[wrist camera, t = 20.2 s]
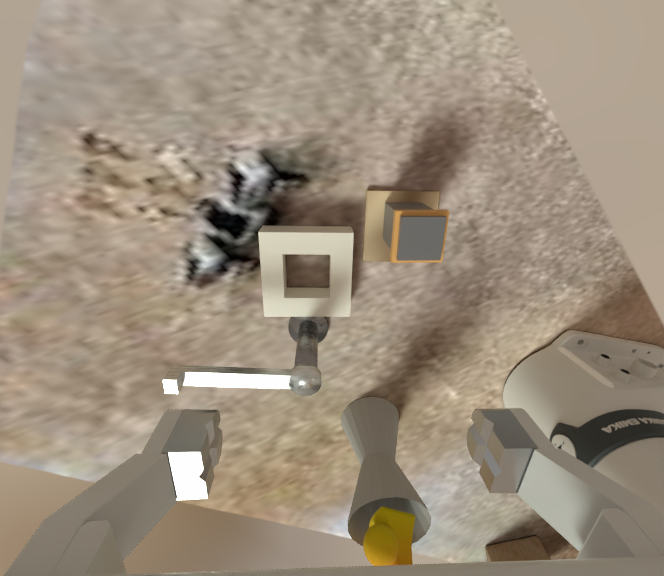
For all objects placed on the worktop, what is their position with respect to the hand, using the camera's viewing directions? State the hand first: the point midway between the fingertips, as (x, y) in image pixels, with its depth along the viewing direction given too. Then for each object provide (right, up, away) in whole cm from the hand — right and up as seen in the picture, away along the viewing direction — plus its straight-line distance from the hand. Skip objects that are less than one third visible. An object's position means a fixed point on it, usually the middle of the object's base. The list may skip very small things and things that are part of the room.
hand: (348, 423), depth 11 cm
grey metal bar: (-9, -4, +23) cm, 25 cm away
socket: (-3, +7, +29) cm, 30 cm away
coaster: (+7, +11, +27) cm, 31 cm away
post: (-4, -1, +32) cm, 32 cm away
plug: (+7, +12, +27) cm, 30 cm away
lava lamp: (+5, -15, +39) cm, 42 cm away
